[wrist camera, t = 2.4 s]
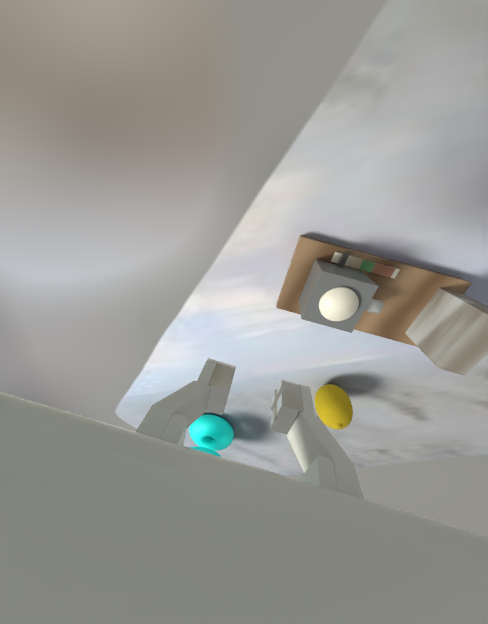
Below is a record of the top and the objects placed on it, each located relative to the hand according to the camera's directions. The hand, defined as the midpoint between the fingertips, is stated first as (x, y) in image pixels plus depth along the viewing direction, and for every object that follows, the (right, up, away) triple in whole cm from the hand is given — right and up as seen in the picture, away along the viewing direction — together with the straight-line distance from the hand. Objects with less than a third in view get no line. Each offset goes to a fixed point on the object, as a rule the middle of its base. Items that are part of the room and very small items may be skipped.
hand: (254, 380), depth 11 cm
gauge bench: (+16, +6, +18) cm, 25 cm away
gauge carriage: (+12, +7, +16) cm, 21 cm away
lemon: (+14, -10, +27) cm, 32 cm away
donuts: (-8, -23, +38) cm, 45 cm away
